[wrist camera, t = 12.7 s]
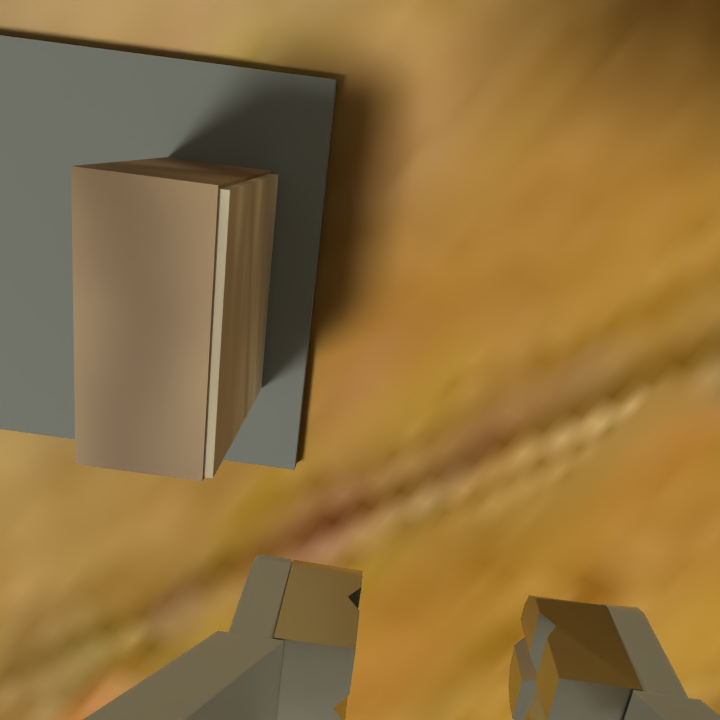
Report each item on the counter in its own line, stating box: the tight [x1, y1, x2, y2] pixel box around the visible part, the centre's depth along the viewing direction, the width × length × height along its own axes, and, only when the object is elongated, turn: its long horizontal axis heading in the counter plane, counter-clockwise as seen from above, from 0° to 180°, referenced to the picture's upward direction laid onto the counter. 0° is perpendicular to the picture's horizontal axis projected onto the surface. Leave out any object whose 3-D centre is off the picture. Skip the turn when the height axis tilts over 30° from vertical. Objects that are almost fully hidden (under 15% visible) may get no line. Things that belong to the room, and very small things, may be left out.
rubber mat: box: [0, 35, 337, 470], centre depth 27 cm, size 14×16×1 cm
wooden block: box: [71, 157, 279, 481], centre depth 23 cm, size 4×9×8 cm, turn 173°
